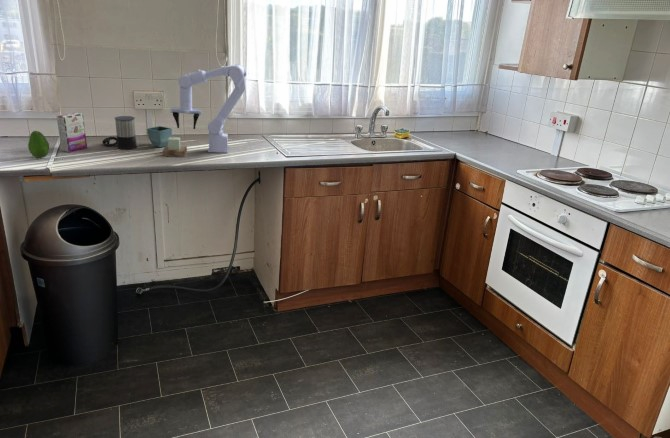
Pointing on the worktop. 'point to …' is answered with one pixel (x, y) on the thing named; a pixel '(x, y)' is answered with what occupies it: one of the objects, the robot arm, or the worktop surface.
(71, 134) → the candy bar box
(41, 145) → the avocado
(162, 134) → the flower pot
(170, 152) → the base slab
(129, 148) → the milk frother
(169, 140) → the cube
